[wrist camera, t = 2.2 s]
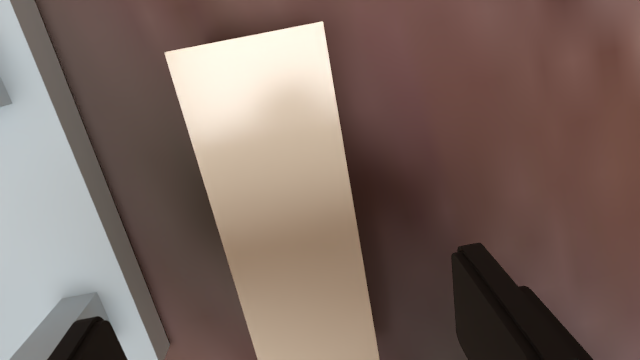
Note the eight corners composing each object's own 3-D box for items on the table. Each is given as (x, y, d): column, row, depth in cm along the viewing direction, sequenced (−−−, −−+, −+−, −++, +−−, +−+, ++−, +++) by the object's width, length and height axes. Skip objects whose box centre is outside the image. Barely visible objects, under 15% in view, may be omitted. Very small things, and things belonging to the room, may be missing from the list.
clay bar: (368, 334, 22) (390, 427, 17) (286, 350, 22) (284, 447, 17) (313, 23, 17) (322, 21, 11) (204, 45, 17) (164, 52, 11)
